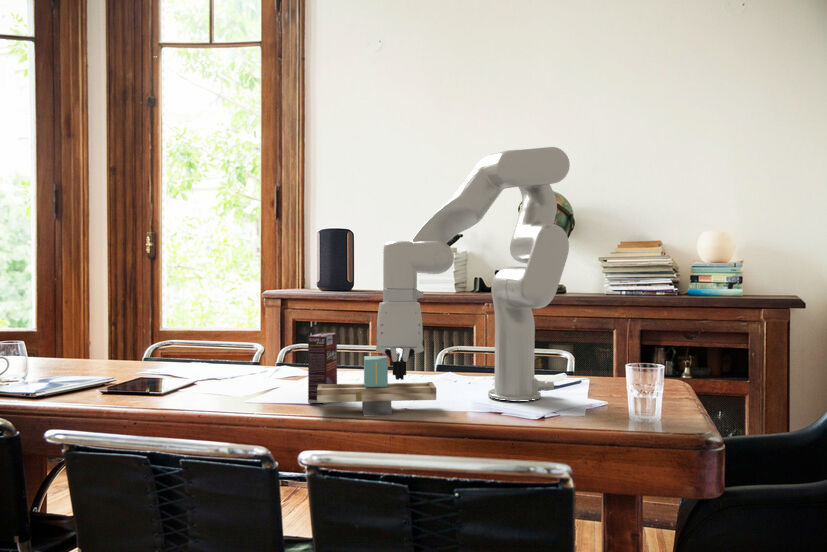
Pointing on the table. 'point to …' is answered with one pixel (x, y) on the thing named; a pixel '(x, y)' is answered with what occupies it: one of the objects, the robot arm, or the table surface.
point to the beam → (376, 395)
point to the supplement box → (321, 362)
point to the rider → (375, 371)
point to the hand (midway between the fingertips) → (399, 378)
